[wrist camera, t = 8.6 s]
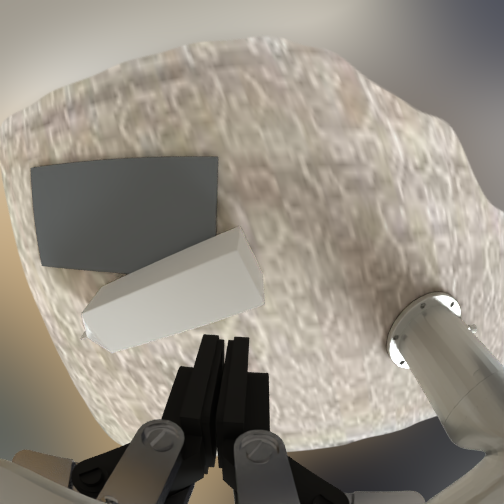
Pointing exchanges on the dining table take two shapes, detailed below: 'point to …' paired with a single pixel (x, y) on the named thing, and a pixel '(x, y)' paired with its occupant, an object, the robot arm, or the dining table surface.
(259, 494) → the robot arm
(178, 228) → the mat
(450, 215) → the dining table surface
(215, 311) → the milk
